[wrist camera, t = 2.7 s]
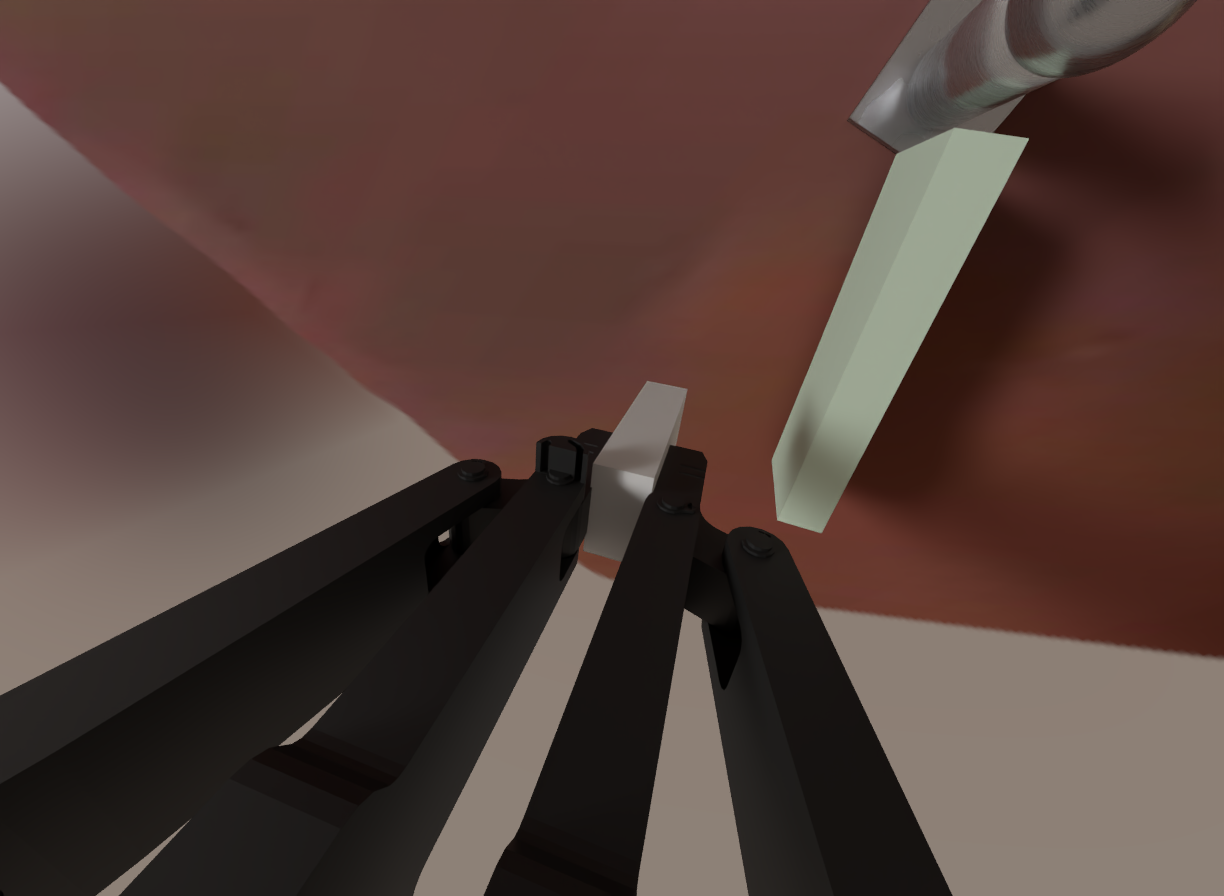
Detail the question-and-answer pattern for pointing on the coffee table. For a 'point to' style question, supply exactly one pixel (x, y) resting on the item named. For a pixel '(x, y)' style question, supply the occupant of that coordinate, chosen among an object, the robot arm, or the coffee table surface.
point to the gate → (886, 311)
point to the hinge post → (998, 60)
